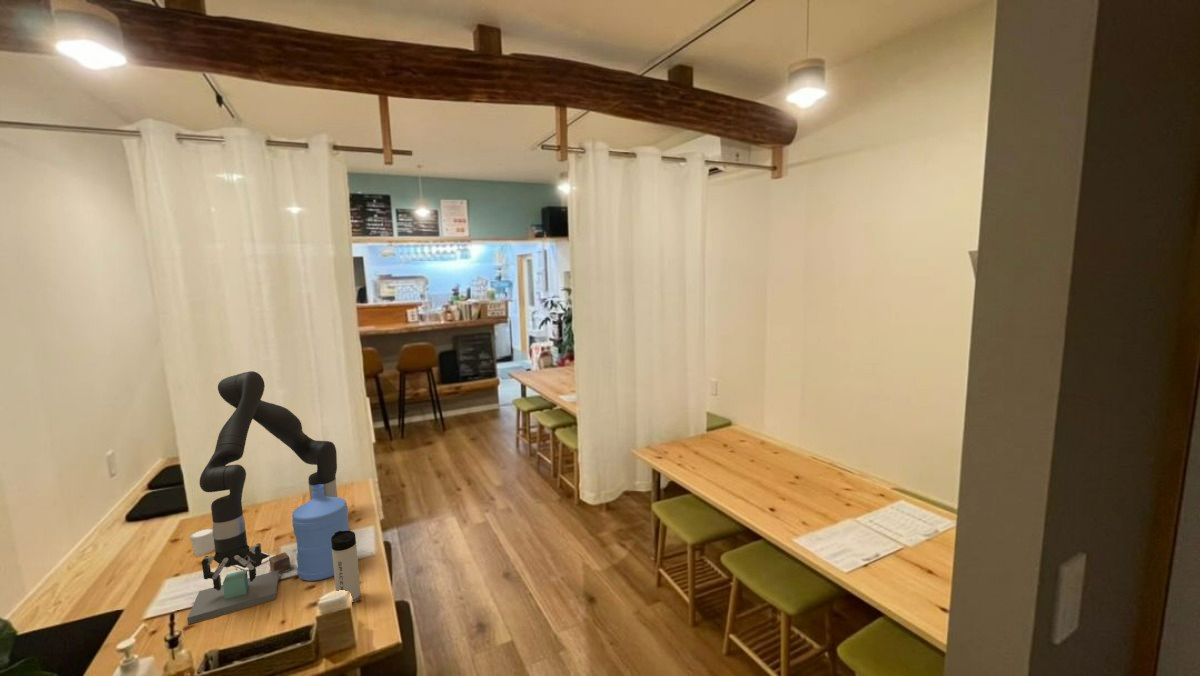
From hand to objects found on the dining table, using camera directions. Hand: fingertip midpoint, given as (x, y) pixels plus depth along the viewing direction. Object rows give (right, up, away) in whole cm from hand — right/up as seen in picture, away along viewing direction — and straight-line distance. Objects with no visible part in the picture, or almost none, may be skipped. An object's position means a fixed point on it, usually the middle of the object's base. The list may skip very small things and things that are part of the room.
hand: (235, 584), depth 142 cm
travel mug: (+35, -4, -2) cm, 35 cm away
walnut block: (+3, -3, +15) cm, 16 cm away
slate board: (0, -4, 0) cm, 4 cm away
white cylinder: (-33, -3, +29) cm, 44 cm away
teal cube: (0, -2, 0) cm, 2 cm away
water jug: (+18, -3, +15) cm, 24 cm away
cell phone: (-14, -3, +23) cm, 26 cm away
